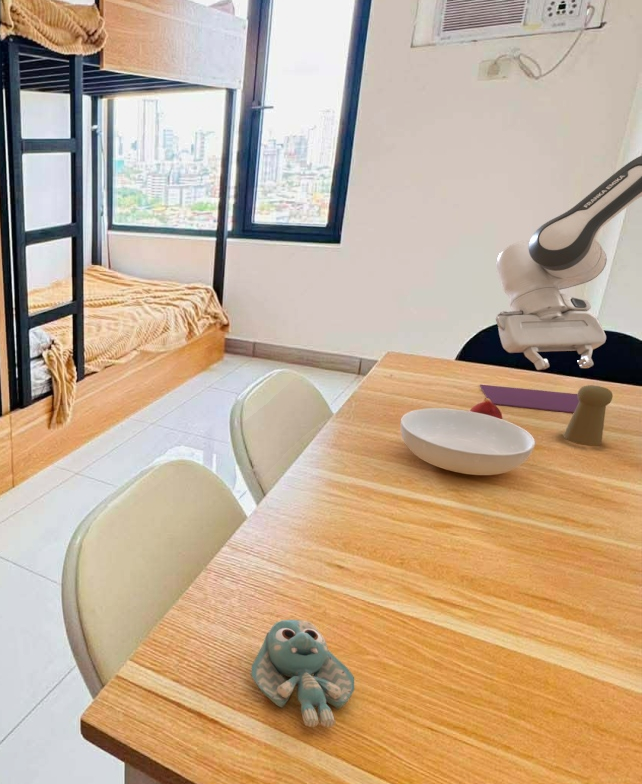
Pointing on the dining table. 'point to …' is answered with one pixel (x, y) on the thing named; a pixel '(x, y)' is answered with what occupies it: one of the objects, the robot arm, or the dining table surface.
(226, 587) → the dining table surface
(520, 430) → the serving bowl
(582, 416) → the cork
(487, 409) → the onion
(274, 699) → the stuffed animal
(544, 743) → the dining table surface
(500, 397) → the plum cloth
